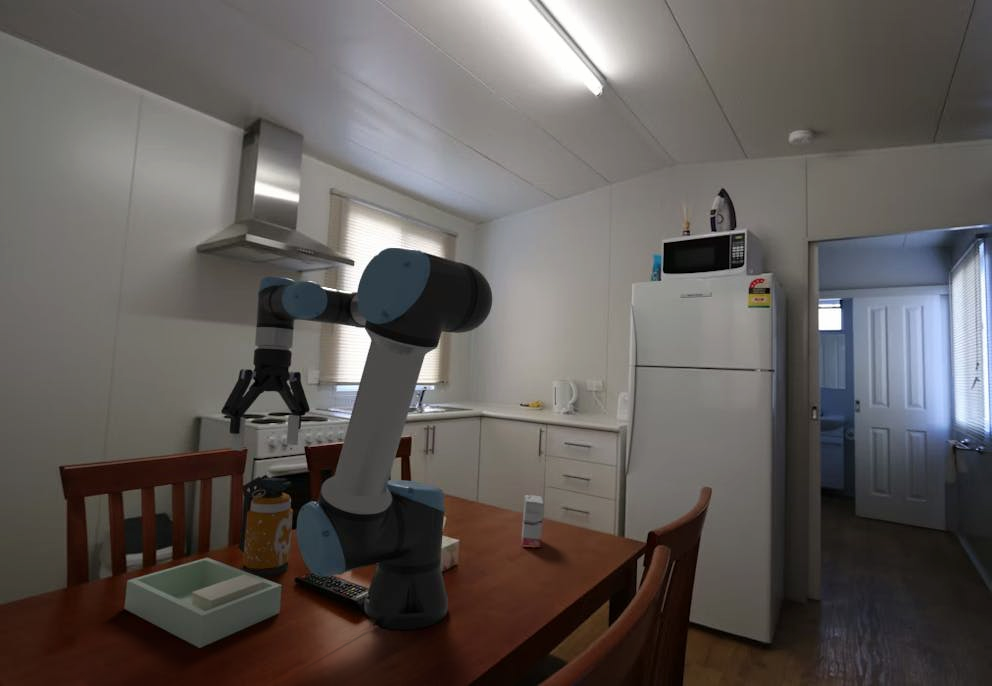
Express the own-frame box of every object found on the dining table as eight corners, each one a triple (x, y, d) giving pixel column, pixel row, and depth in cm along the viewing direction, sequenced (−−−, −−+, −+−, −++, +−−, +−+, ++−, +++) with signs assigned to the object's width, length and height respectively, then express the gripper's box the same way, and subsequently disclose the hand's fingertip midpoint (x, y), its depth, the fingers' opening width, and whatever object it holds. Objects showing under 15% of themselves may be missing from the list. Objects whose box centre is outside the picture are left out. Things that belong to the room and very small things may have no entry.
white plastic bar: (260, 615, 87) (262, 581, 88) (207, 637, 79) (211, 600, 80) (241, 607, 90) (244, 574, 90) (188, 627, 82) (191, 592, 82)
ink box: (541, 549, 132) (544, 502, 133) (522, 548, 132) (524, 501, 133) (539, 538, 140) (541, 495, 141) (521, 537, 140) (523, 494, 141)
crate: (279, 617, 88) (281, 585, 89) (199, 653, 76) (202, 615, 77) (204, 586, 99) (207, 557, 99) (123, 613, 87) (127, 580, 87)
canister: (270, 583, 102) (279, 482, 104) (223, 576, 104) (231, 477, 106) (296, 567, 111) (304, 474, 112) (252, 561, 113) (259, 470, 115)
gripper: (306, 352, 124) (300, 440, 122) (207, 343, 102) (198, 450, 100) (329, 353, 120) (323, 443, 118) (231, 343, 98) (222, 454, 96)
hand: (266, 447), depth 109 cm, fingers open, 13 cm apart
